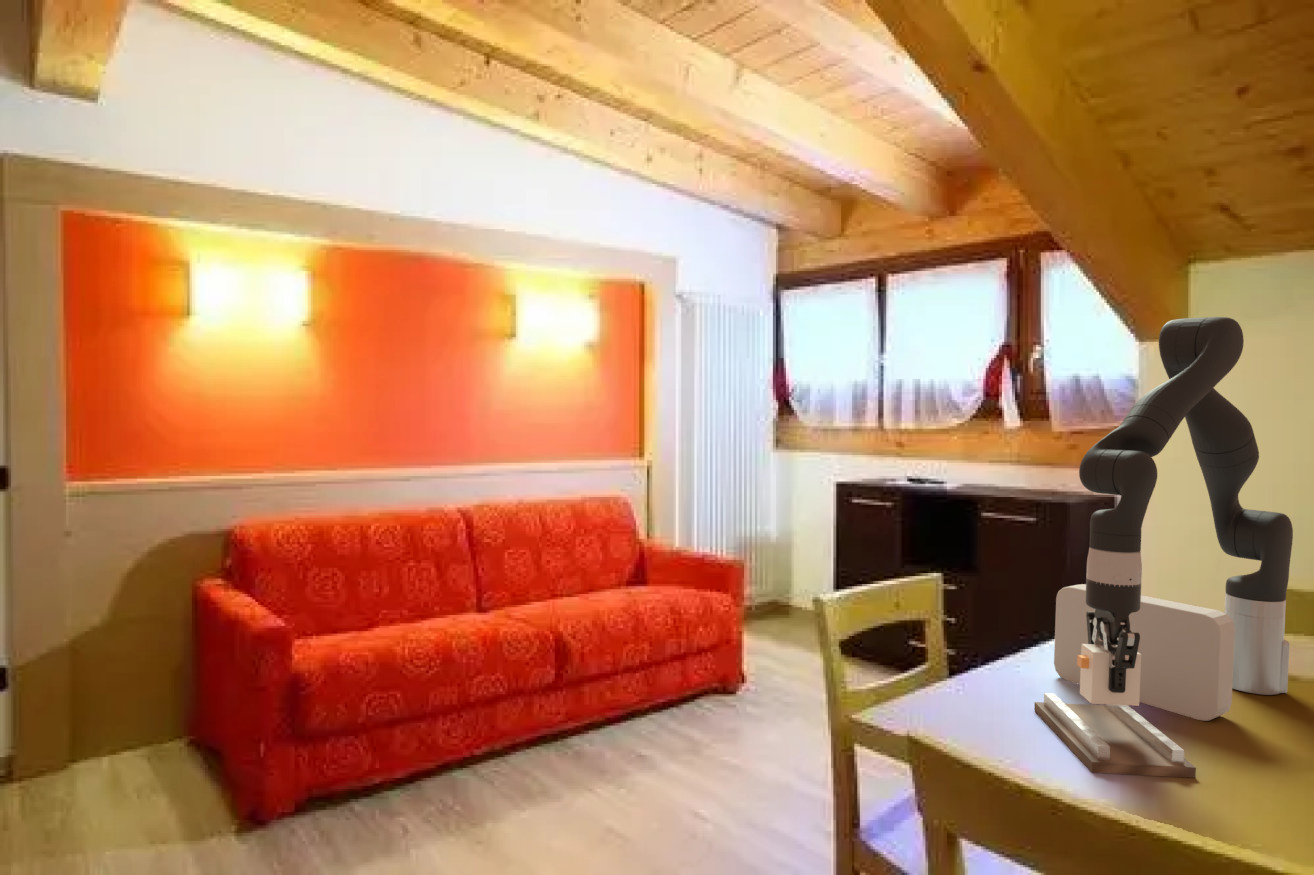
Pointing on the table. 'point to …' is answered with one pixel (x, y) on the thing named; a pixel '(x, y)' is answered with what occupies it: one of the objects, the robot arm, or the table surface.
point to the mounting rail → (1125, 715)
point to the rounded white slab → (1161, 652)
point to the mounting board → (1114, 744)
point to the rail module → (1106, 677)
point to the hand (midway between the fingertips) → (1109, 685)
